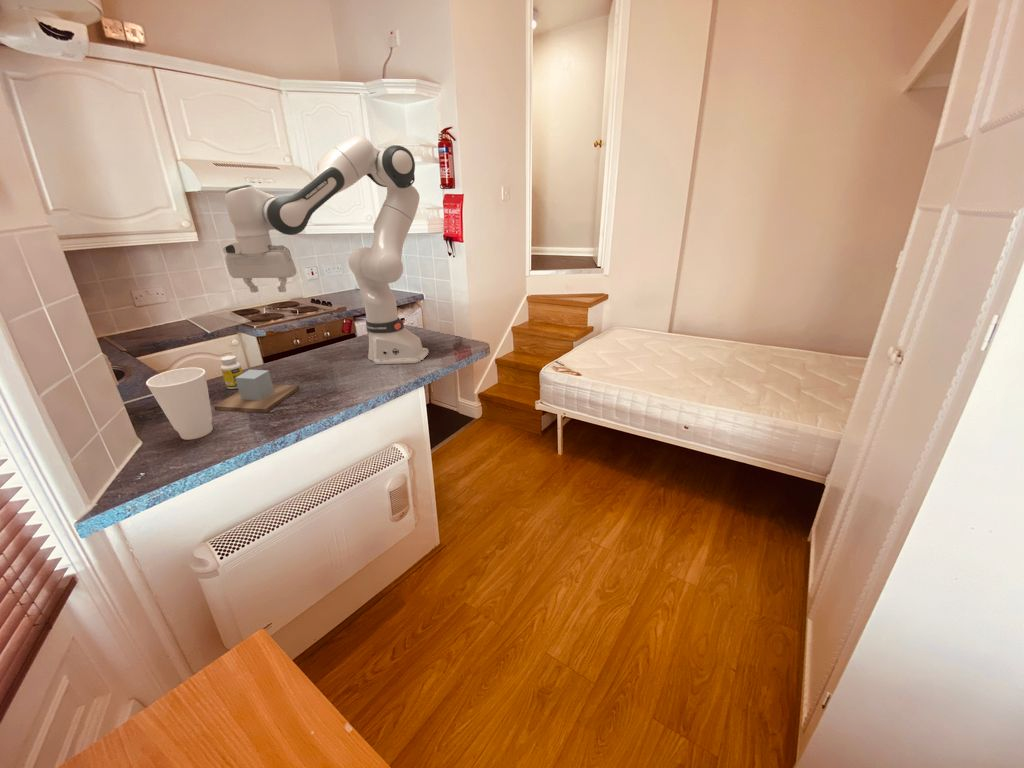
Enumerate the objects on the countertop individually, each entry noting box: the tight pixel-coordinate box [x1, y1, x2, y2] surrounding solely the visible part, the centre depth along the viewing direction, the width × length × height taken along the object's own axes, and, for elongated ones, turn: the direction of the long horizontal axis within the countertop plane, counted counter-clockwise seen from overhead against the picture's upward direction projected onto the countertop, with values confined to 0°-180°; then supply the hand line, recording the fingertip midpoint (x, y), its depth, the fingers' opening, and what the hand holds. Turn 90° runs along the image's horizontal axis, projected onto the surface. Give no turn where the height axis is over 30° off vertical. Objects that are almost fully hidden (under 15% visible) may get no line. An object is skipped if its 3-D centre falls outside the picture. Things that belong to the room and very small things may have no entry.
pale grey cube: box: [235, 369, 274, 401], centre depth 126 cm, size 6×6×7 cm
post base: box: [213, 383, 300, 414], centre depth 126 cm, size 16×16×7 cm
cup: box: [145, 366, 214, 441], centre depth 107 cm, size 12×12×16 cm
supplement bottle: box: [220, 355, 244, 390], centre depth 135 cm, size 5×5×10 cm
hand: (268, 292), depth 132 cm, fingers open, 8 cm apart
